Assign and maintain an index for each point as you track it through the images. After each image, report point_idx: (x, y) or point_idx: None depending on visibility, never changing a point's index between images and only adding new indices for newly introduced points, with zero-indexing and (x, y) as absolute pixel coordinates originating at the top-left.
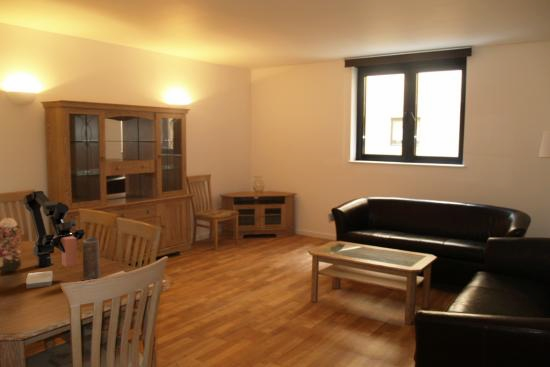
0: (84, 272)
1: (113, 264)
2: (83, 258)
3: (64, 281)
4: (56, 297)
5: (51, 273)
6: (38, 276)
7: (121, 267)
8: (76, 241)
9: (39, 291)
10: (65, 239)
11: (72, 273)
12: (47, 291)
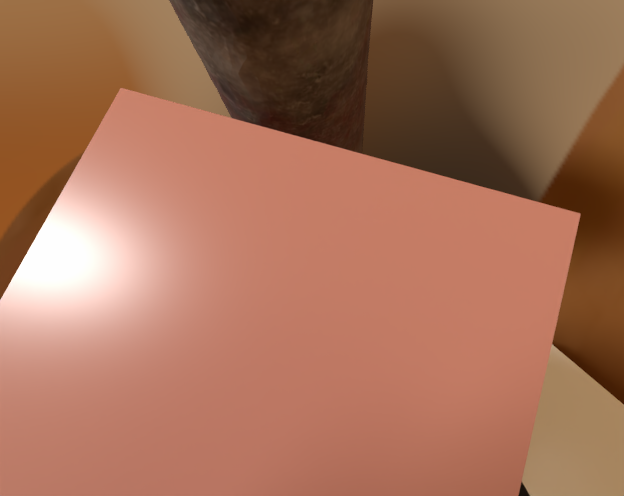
0: (362, 143)
1: (10, 282)
2: (364, 67)
3: None
4: (620, 124)
5: None
6: (586, 452)
7: (59, 191)
8: None
9: (619, 302)
10: (576, 226)
11: None
12: (588, 253)
